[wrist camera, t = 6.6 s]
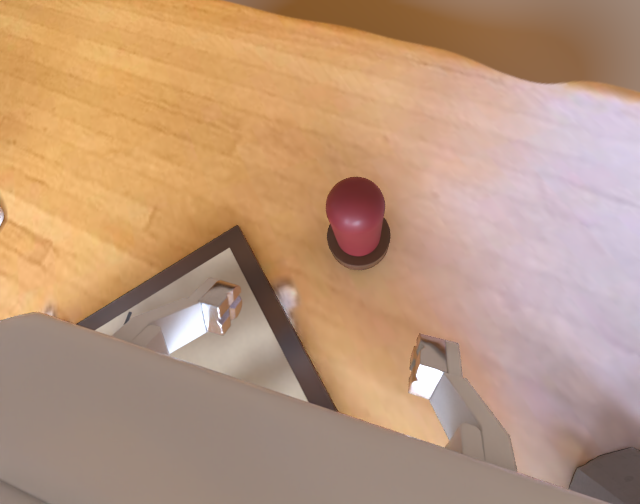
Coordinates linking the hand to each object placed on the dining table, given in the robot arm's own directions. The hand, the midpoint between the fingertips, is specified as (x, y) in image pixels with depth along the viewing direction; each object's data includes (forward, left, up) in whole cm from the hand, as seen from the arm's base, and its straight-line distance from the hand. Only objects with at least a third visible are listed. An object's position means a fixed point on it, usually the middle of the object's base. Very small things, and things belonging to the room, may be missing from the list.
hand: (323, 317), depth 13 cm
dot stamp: (-4, +4, -11) cm, 12 cm away
